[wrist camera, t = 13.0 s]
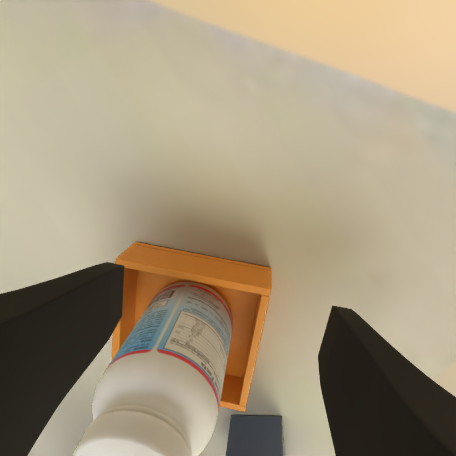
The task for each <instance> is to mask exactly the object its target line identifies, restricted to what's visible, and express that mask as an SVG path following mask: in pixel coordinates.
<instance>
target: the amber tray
mask: <svg viewBox="0 0 456 456" xmlns="http://www.w3.org/2000/svg"><path fill="white" fill-rule="evenodd" d="M115 264H119V265H124V287H123V310H122V317H121V319H120V321H119V323H118V324H117V326H116V328H115V330H114V331H113V342H112V360H113V358H114V357H115V355H116V354H117V352H118V351H119V349H120V348H121V346H122V345H123V343H124V342H125V340H126V339H127V337H128V336H129V334H130V333H131V331H132V330H133V328H134V327H135V325H136V324H137V322H138V321H139V319H140V318H141V316H142V314H143V313H144V311H145V310H146V308H147V307H148V305H149V304H150V302H151V301H152V300H153V298H154V297H155V296H156V295H157V293H158V292H159V291H161V290H162V289H163V288H165V287H167V286H169V285H171V284H174V283H178V282H195V283H199V284H203V285H205V286H207V287H209V288H211V289H213V290H214V291H216V292H217V293H218V294H219V295H220V296H221V297H222V298H223V299H224V301H225V302H226V304H227V306H228V308H229V310H230V313H231V317H232V324H233V328H232V336H231V342H230V347H229V353H228V359H227V364H226V370H225V376H224V382H223V388H222V394H221V399H220V405H219V406H221V407H225V408H230V409H234V410H238V411H243V412H245V408H246V404H247V399H248V395H249V390H250V385H251V381H252V376H253V371H254V367H255V362H256V358H257V353H258V348H259V344H260V339H261V335H262V330H263V325H264V321H265V316H266V312H267V307H268V302H269V298H270V293H271V268H269V267H264V266H259V265H254V264H248V263H243V262H238V261H233V260H227V259H222V258H217V257H212V256H206V255H201V254H196V253H191V252H186V251H180V250H175V249H170V248H165V247H159V246H154V245H149V244H144V243H138V242H135V243H134V244H133V245H131V246H130V247H129V248H128V249H126V250H125V251H124V252H123V253H122V254H121V255H119V256H118V257H117V258H116V262H115Z"/></svg>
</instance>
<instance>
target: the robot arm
mask: <svg viewBox="0 0 456 456" xmlns="http://www.w3.org/2000/svg"><path fill="white" fill-rule="evenodd" d="M123 287H124V265H119V264H114V263H109V262H107V263H102V264H99V265H95V266H92V267H89V268H86V269H83V270H80V271H77V272H74V273H71V274H68V275H65V276H62V277H59V278H56V279H53V280H49V281H46V282H42V283H39V284H36V285H32V286H29V287H26V288H22V289H19V290H15V291H11V292H7V293H3V294H0V456H27V455H28V454H29V452H30V450H31V449H32V447H33V445H34V444H35V442H36V440H37V439H38V437H39V435H40V434H41V432H42V431H43V429H44V427H45V426H46V424H47V423H48V421H49V420H50V418H51V416H52V415H53V413H54V412H55V410H56V408H57V407H58V406H59V404H60V403H61V401H62V400H63V399H64V397H65V396H66V394H67V393H68V392H69V391H70V389H71V388H72V387H73V385H74V384H75V383H76V381H77V380H78V379H79V378H80V376H81V375H82V374H83V372H84V371H85V370H86V369H87V367H88V366H89V365H90V363H91V362H92V361H93V360H94V358H95V357H96V356H97V354H98V353H99V352H100V350H101V349H102V348H103V347H104V345H105V344H106V342H107V341H108V340H109V338H110V336H111V335H112V333H113V331H114V330H115V328H116V326H117V324H118V323H119V321H120V319H121V317H122V310H123ZM318 362H319V375H320V385H321V390H322V395H323V399H324V404H325V409H326V413H327V418H328V422H329V427H330V431H331V436H332V440H333V445H334V449H335V454H336V456H456V397H455V396H453V395H452V394H450V393H449V392H448V391H446V390H445V389H444V388H442V387H441V386H440V385H438V384H437V383H435V382H434V381H433V380H432V379H430V378H429V377H428V376H426V375H425V374H424V373H423V372H422V371H420V370H419V369H418V368H417V367H416V366H414V365H413V364H412V363H411V362H410V361H408V360H407V359H406V358H405V357H404V356H402V355H401V354H400V353H399V352H398V351H397V350H396V349H395V348H393V347H392V346H391V345H390V344H389V343H388V342H387V341H386V340H385V339H384V338H383V337H381V336H380V335H379V334H378V333H377V332H376V331H375V330H374V329H373V328H372V327H371V326H370V325H369V324H368V323H367V322H366V321H364V320H363V319H362V318H361V317H360V316H359V315H358V314H357V313H355V312H354V311H353V310H352V309H348V308H342V307H337V306H332V309H331V312H330V316H329V319H328V323H327V326H326V330H325V333H324V337H323V341H322V344H321V348H320V351H319V355H318Z"/></svg>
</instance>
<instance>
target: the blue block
mask: <svg viewBox="0 0 456 456" xmlns="http://www.w3.org/2000/svg"><path fill="white" fill-rule="evenodd" d="M226 456H285V450H284V438H283V425H282V416H250V415H231V422H230V429H229V436H228V443H227V451H226Z"/></svg>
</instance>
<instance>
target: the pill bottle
mask: <svg viewBox="0 0 456 456" xmlns="http://www.w3.org/2000/svg"><path fill="white" fill-rule="evenodd" d="M232 328H233V324H232V317H231V313H230V310H229V308H228V306H227V304H226V302H225V301H224V299H223V298H222V297H221V296H220V295H219V294H218V293H217V292H216V291H214V290H213V289H211V288H209V287H207V286H205V285H203V284H199V283H195V282H178V283H174V284H171V285H169V286H167V287H165V288H163V289H162V290H161V291H159V292H158V293H157V295H156V296H155V297H154V298H153V300H152V301H151V302H150V304H149V305H148V307H147V308H146V310H145V311H144V313H143V314H142V316H141V318H140V319H139V321H138V322H137V324H136V325H135V327H134V328H133V330H132V331H131V333H130V334H129V336H128V337H127V339H126V340H125V342H124V343H123V345H122V346H121V348H120V349H119V351H118V352H117V354H116V355H115V357H114V358H113V360H112V361H111V363H110V364H109V366H108V368H107V369H106V371H105V372H104V374H103V375H102V377H101V379H100V380H99V382H98V384H97V386H96V389H95V392H94V395H93V402H92V413H93V419H94V421H92V422H91V424H90V425H89V426H88V427H87V429H86V431H85V433H84V435H83V437H82V439H81V440H80V442H79V444H78V445H77V447H76V449H75V451H74V453H73V455H72V456H197V455H199V454H200V453H201V452H202V451H203V449H204V448H205V447H206V446H207V444H208V443H209V441H210V439H211V437H212V435H213V432H214V429H215V426H216V421H217V417H218V411H219V405H220V399H221V394H222V388H223V382H224V376H225V370H226V364H227V359H228V353H229V347H230V342H231V336H232Z"/></svg>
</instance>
